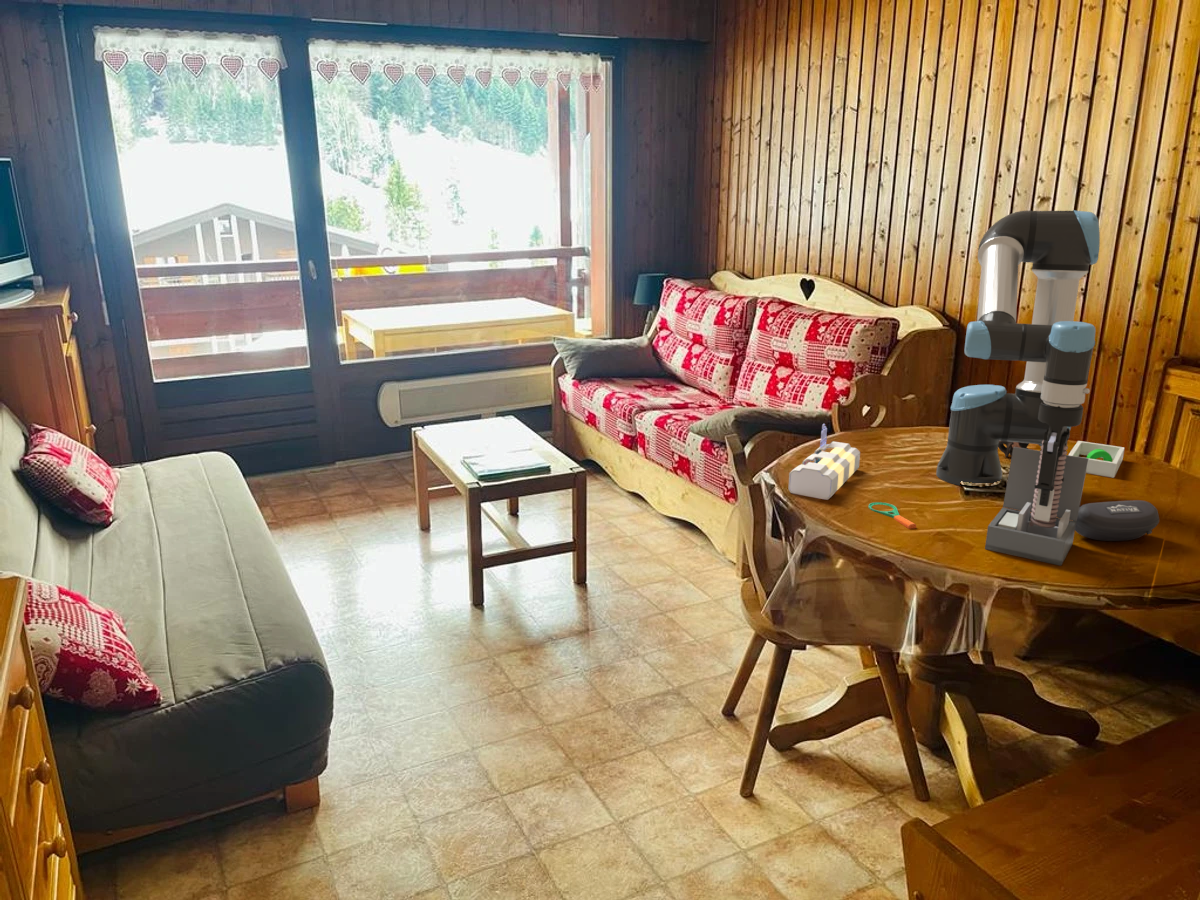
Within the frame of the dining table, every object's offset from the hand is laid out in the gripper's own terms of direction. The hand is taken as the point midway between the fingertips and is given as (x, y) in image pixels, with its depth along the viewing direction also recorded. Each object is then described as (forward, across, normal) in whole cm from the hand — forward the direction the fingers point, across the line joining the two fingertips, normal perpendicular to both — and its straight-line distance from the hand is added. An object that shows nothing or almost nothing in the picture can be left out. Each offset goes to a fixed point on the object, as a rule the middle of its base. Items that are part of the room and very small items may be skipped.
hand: (1044, 515), depth 174 cm
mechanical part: (+10, +62, -6) cm, 64 cm away
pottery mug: (+8, +61, +17) cm, 64 cm away
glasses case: (+8, +16, -11) cm, 20 cm away
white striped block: (+8, +13, +51) cm, 53 cm away
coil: (+3, 0, 0) cm, 3 cm away
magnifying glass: (+8, 0, +30) cm, 31 cm away
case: (+7, 0, +2) cm, 7 cm away
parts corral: (+7, +67, -1) cm, 67 cm away
